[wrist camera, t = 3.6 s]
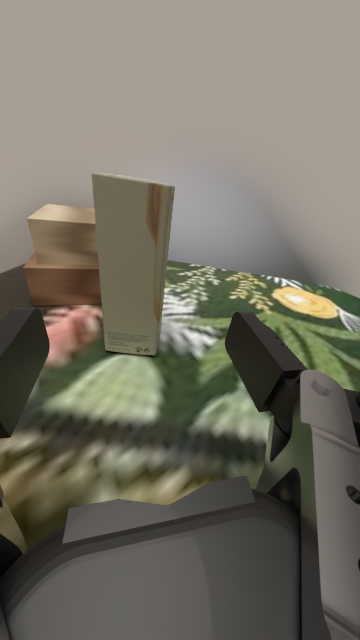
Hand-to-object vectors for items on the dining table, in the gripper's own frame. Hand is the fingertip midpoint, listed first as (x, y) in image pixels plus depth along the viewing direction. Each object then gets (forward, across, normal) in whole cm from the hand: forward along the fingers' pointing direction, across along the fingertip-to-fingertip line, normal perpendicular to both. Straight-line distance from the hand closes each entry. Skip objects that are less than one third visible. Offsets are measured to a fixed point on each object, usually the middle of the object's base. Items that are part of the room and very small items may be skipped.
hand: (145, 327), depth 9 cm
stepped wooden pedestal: (+19, +5, +7) cm, 21 cm away
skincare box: (+9, 0, +7) cm, 11 cm away
